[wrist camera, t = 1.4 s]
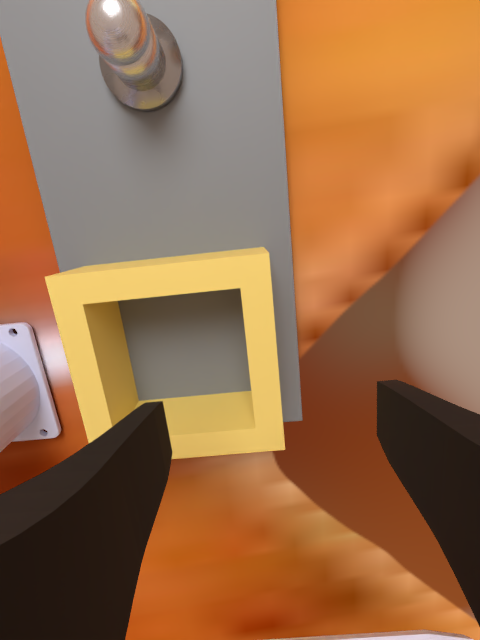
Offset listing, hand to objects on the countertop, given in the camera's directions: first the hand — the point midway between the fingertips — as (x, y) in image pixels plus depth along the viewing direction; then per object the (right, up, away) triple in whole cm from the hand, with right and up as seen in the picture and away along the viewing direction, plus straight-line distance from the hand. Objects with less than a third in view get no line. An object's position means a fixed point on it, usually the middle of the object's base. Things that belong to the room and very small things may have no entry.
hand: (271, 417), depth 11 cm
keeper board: (-5, +9, +8) cm, 13 cm away
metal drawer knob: (-6, +15, +5) cm, 17 cm away
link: (-4, +2, +9) cm, 10 cm away
